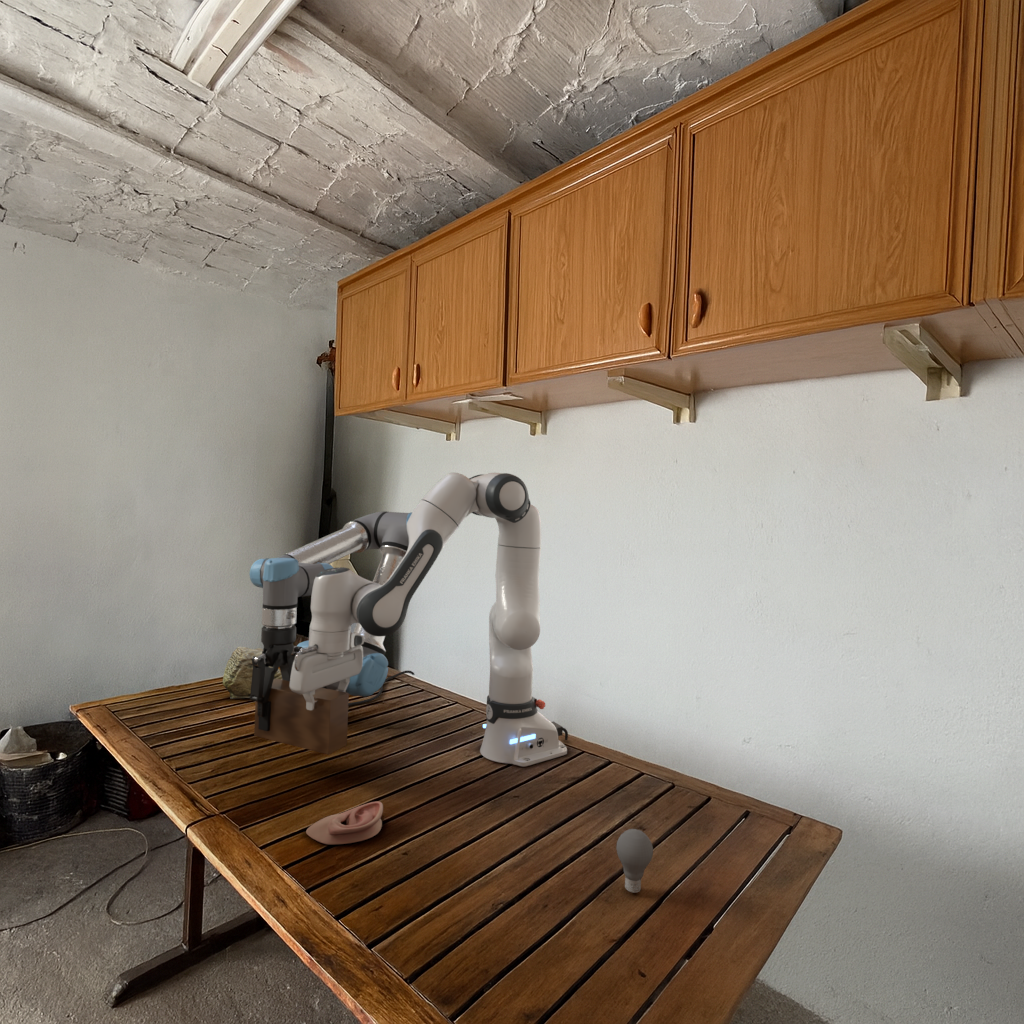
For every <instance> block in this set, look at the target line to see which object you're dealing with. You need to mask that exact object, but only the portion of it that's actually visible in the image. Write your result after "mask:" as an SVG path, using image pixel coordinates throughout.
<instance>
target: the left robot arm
mask: <svg viewBox="0 0 1024 1024" xmlns="http://www.w3.org/2000/svg"><path fill="white" fill-rule="evenodd" d="M412 512H413V511H412ZM412 512H411V511H410V512H399V511H397V512H396V511H387V510H386V511H384V510H383V511H382V510H381V511H377V512H372V513H368V514H365V515H363V516H360V517H358V518H355V519H354V520H353V519H352V520H351V521H348V522H346V523H345V524H344V526H343V527H342V528H341V529H339V530H337V531H334V532H332V533H330V534H328V535H325V536H323V537H321V538H318V539H316V540H313V541H311V542H309V543H307V544H305V545H303V546H300V547H298V548H296V549H294V550H291V551H289V552H286V553H285V554H282V555H279V556H277V557H271V558H269V557H266V558H259V559H257V560H255V561H254V562H253V563H252V565H251V566H250V569H249V578H250V582H251V584H252V585H253V586H255V587H257V588H260V589H262V608H261V609H262V611H261V625H262V627H261V635H260V642H261V643H262V646H263V648H262V649H263V651H262V654H261V655H259V656H258V657H256V656H253V657H252V665H253V672H252V683H251V693H250V698H249V700H250V701H253V702H255V701H256V702H257V703H258V708H257V711H258V712H257V715H258V716H259V726H258V729H260V730H264V731H269V730H270V714H271V702H270V701H268V699H269V695H270V691H271V687H272V684H273V680H274V676H275V673H276V672H277V671H278V669H279V670H280V672H281V675H282V680H286V681H290V677H291V671H292V666H293V662H294V660H295V656H296V655H297V653H298V652H299V651H300V649H302V648H307V647H308V646H309V639H308V640H304V641H302V642H299V643H298V644H297V645H294V643H295V642H296V640H297V627H296V624H297V610H298V609H297V608H298V598H302V597H307V596H308V597H309V596H312V588H313V583H314V580H315V577H316V575H317V574H318V573H320V572H321V571H323V570H326V569H330V568H334V566H332V565H331V564H332V563H335V562H336V561H338V560H341V559H342V558H345V557H347V556H349V555H351V554H353V553H357V554H359V553H363V552H365V551H369V550H379V553H380V554H381V558H380V561H379V564H378V566H377V569H376V572H375V574H374V577H373V579H372V582H375V583H378V584H380V585H383V584H384V583H386V582H387V580H388V579H389V578H390V576H391V575H392V573H393V572H394V570H395V569H396V567H397V566H398V564H399V563H400V561H401V560H402V559H403V557H404V556H405V554H406V552H407V550H408V546H409V536H408V533H407V522H408V520H409V518H410V516H411V514H412ZM355 624H356V625H355V627H354V630H353V631H352V633H355V634H360V635H363V636H364V643H363V644H362V645H361V646H362V647H363V664H362V669H361V671H360V673H359V674H358V675H355V676H352V677H350V682H349V684H348V686H347V689H346V693H349V696H353V697H366V699H364V700H359V701H353V702H348V707H350V706H357V705H362V704H366V703H369V702H371V701H374V700H377V699H378V698H379V697H380V696H381V695H382V693H383V691H384V684H385V683H386V682H388V681H390V680H392V679H395V678H397V677H399V676H402V675H405V674H411V675H412V676H414V675H416V674H415V672H414V671H412V670H403V671H400V672H398V673H395V674H393V675H391V676H388V673H389V667H388V666H389V661H388V659H387V657H386V656H385V655H386V652H387V650H386V648H385V646H384V641H385V638H386V636H374V635H371V634H369V633H367V632H366V631H365V630H364V629H363V628H362V626H361V625H360V623H355ZM300 654H301V653H300ZM269 666H270V667H273V668H270V667H269ZM339 683H340V681H338V682H335V683H333V684H330V685H327V686H324V687H322V688H326V689H331V690H337V689H338V686H339ZM374 693H377V694H376V695H374ZM372 695H374V696H373V697H370V696H372ZM263 696H264V697H263ZM367 697H370V698H368V699H367Z"/></svg>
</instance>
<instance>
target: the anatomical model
mask: <svg viewBox="0 0 1024 1024" xmlns="http://www.w3.org/2000/svg"><path fill="white" fill-rule="evenodd" d="M383 813H384V804H383V803H382V802H381V801H377V800H376V801H371V802H367V803H364V804H361V805H358V806H355V807H353V808H351V809H349V810H346V811H344V812H341V813H336V814H331V815H328V816H326V817H323V818H321V819H319V820H318V821H315V823H313V824H311V825H310V826H309V827H307V829H306V831H305V833H306V835H307V836H308V837H310V838H311V839H313V840H315V841H317V842H318V843H321V844H323V845H333V846H335V845H344V844H345V845H346V844H352V843H357V842H363V841H365V840H368V839H371V838H373V837H374V836H376V835H378V834H379V833H380V832H381V829H382V827H383V821H382V815H383Z"/></svg>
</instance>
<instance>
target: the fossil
mask: <svg viewBox="0 0 1024 1024" xmlns="http://www.w3.org/2000/svg"><path fill="white" fill-rule="evenodd" d="M262 651H263V648H260V647H258V648H251V647H247V646H246V647H245V646H238V647H237V648H236V649H235V650H233V651H232V653H231V656H230V657H229V659H228V660H227V663H226V666H225V668H224V671H223V675H222V676H223V677H222V685H223V687H224V688H225V690H226V691H228V693H229V698H230V699H250V693H251V683H252V672H253V665H252V657H253V656H256V657H258V656H259V655H261V654H262ZM269 667H270V666H269ZM270 668H273V667H270ZM274 679H281V680H282V675H281V671H280V668H278V671H277V672H276V673H275V676H274Z"/></svg>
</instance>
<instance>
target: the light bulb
mask: <svg viewBox="0 0 1024 1024" xmlns="http://www.w3.org/2000/svg"><path fill="white" fill-rule="evenodd" d="M615 849H616V854H617V857H618V859H619V861H620V863H621V865H622V867H623V873H624V874H623V875H624V876H625V878H624V888H625V890H627V891H628V892H630V893H634V894H635V893H639V892H640V891H641V889H642V887H641V886H642V879H643V877H644V875H645V871H646V868H647V867H648V866H649V864H650V863H651V861H652V859H653V855H654V847H653V843H652V841H651V838H649V836H648V835H647V834H646V833H645V832H643V831H642V830H641V829H636V828H629V829H627V830H625V831H623V832H622V833H621V834H620V835H619V837H618V839H617V841H616V847H615Z"/></svg>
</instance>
